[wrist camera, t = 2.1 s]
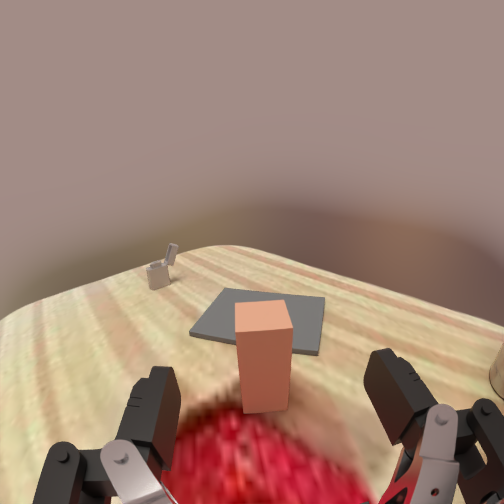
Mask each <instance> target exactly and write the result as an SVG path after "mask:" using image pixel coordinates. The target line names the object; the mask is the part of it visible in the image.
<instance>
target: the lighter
mask: <svg viewBox="0 0 504 504" xmlns="http://www.w3.org/2000/svg"><path fill="white" fill-rule="evenodd" d="M177 250H178V246H177V245H176V244H171V243H170V244H169V247H168V251H167V254H166V257H165V261H164V263H161V261H160V260H158V261H154V262H151V264H150V267H148V268H146V271H147V276H148V281H149V286H150V288H151V289H152V290H156V289H159V288H162V287H165V286H168V285H170V278H169V272H168V266H167V265H171V266H173V265H174V261H175V258H176V254H177Z"/></svg>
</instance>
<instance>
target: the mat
mask: <svg viewBox="0 0 504 504" xmlns="http://www.w3.org/2000/svg"><path fill="white" fill-rule="evenodd" d="M272 300H284V301H285V304H286V307H287V310H288V313H289V317H290V320H291V323H292V326H293V340H292V353H297V354H306V355H316V356H318V349H319V342H320V335H321V327H322V319H323V311H324V302H325V297H313V296H301V295H290V294H279V293H269V292H259V291H249V290H240V289H231V288H224V289H223V291H222V292H221V293H220V294H219V295H218V297H217V298H216V299H215V300H214V302H213V303H212V304H211V305H210V306H209V308H208V309H207V310H206V311H205V313H204V314H203V315H202V316H201V317H200V319H199V320H198V321H197V322H196V323H195V325H194V326H193V327H192V328H191V330H190V331H189V334H190V336H193V337H198V338H203V339H208V340H213V341H218V342H223V343H229V344H234V345H236V335H235V303H242V302H258V301H272Z"/></svg>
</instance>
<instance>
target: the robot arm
mask: <svg viewBox="0 0 504 504" xmlns="http://www.w3.org/2000/svg"><path fill="white" fill-rule="evenodd" d="M489 375H490V381H491V384H492V386H493V388H494V390H495V391H496V392H497V393H498V394H499V395H500V396H501V397H502V398H503V399H504V343H503V345H502V347H501V349H500V351H499V353H498V355H497V357H496V359H495V361H494V362H493V364H492V366H491V369H490V374H489ZM364 388H365V390H366V392H367V394H368V396H369V398H370V400H371V402H372V404H373V406H374V408H375V410H376V413H377V415H378V417H379V419H380V421H381V423H382V425H383V427H384V429H385V431H386V433H387V435H388V438H389V440H390V442H391V444H392V446H394V445H396V444H399V443H402V444H403V446H404V447H403V448H402V450H401V453H400V457H399V460H398V463H397V466H396V469H395V471H394V474H393V477H392V480H391V482H390V485H389V487H388V488H387V490H386V491H385V493H384V494H383V496H382V498H381V499H380V501H379V503H378V504H452V501H453V497H454V493H455V489H456V484H457V483H458V485H459V488H460V490H461V493H462V495H463V498H464V500H465V503H466V504H504V416H503V415H502V413H501V412H500V410H499V409H498V407H497V406H496V405H495V403H494V402H493V401H491V400H489V399H485V398H482V399H479V400H477V401H476V402H475V403H474V405H473V406H472V408H471V409H464V410H457V411H455V410H454V409H453V408H452V407H451V406H449V405H446V404H438V402H437V401H436V400H435V398H434V397H433V395H432V394H431V392H430V391H429V389H428V388H427V387H426V385H425V384H424V382H423V381H422V380H420V377H419V375H418V374H417V373H416V371H415V370H414V368H413V367H412V366H411V364H410V363H409V362H407V361H406V360H404V359H403V358H401V357H398V358H397V356H396V355H395V354H394V352H393V351H392V350H391V349H390V348H386V349H381V350H376V351H373V352H372V353H371V355H370V359H369V362H368V365H367V368H366V372H365V375H364ZM180 407H181V395H180V390H179V387H178V383H177V380H176V377H175V373H174V370H173V368H172V367H163V366H153V367H152V369H151V372H150V375H149V378H141V379H140V380H139V381H138V382H137V383H136V384H135V385H134V386H133V389H132V391H131V394H130V399H129V400H128V403H127V407H126V408H125V411H124V414H123V417H122V420H121V423H120V426H119V429H118V433H117V436H116V438H115V440H113V441H110V442H108V443H107V444H106V445H105V446H104V447H103V448H102V449H95V450H78V449H77V448H76V447H75V446H74V445H73V444H71V443H69V442H58V443H56V444H54V445H53V446H52V447H51V448H50V449H49V451H48V454H47V457H46V460H45V463H44V466H43V469H42V472H41V475H40V478H39V482H38V485H37V489H36V492H35V496H34V500H33V504H111V497H112V496H119V498H120V499H121V501H122V503H123V504H179V503H178V502H177V501H176V499H175V498H174V497H173V495H172V494H171V493H170V491H169V490H168V489H167V487H166V486H165V485H164V483H163V482H162V480H161V473H162V470H167V471H171V466H172V458H173V451H174V444H175V438H176V431H177V425H178V419H179V413H180ZM477 441H479V443H480V445H481V447H482V449H483V451H484V452H485V454H486V456H487V465H486V464H485V462H484V461H483V459H482V457H481V455H480V453H479V451H478V449H477V447H476V445H475V443H476V442H477ZM361 504H369V501H368V502H364V503H361Z"/></svg>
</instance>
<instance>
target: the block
mask: <svg viewBox="0 0 504 504" xmlns="http://www.w3.org/2000/svg"><path fill="white" fill-rule="evenodd" d="M235 335H236V346H237V356H238V366H239V376H240V386H241V395H242V404H243V413H244V414H248V413H262V412H273V411H283V410H287V408H288V397H289V385H290V372H291V357H292V340H293V326H292V323H291V320H290V317H289V313H288V310H287V307H286V304H285V301H284V300H272V301H258V302H242V303H235Z"/></svg>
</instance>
